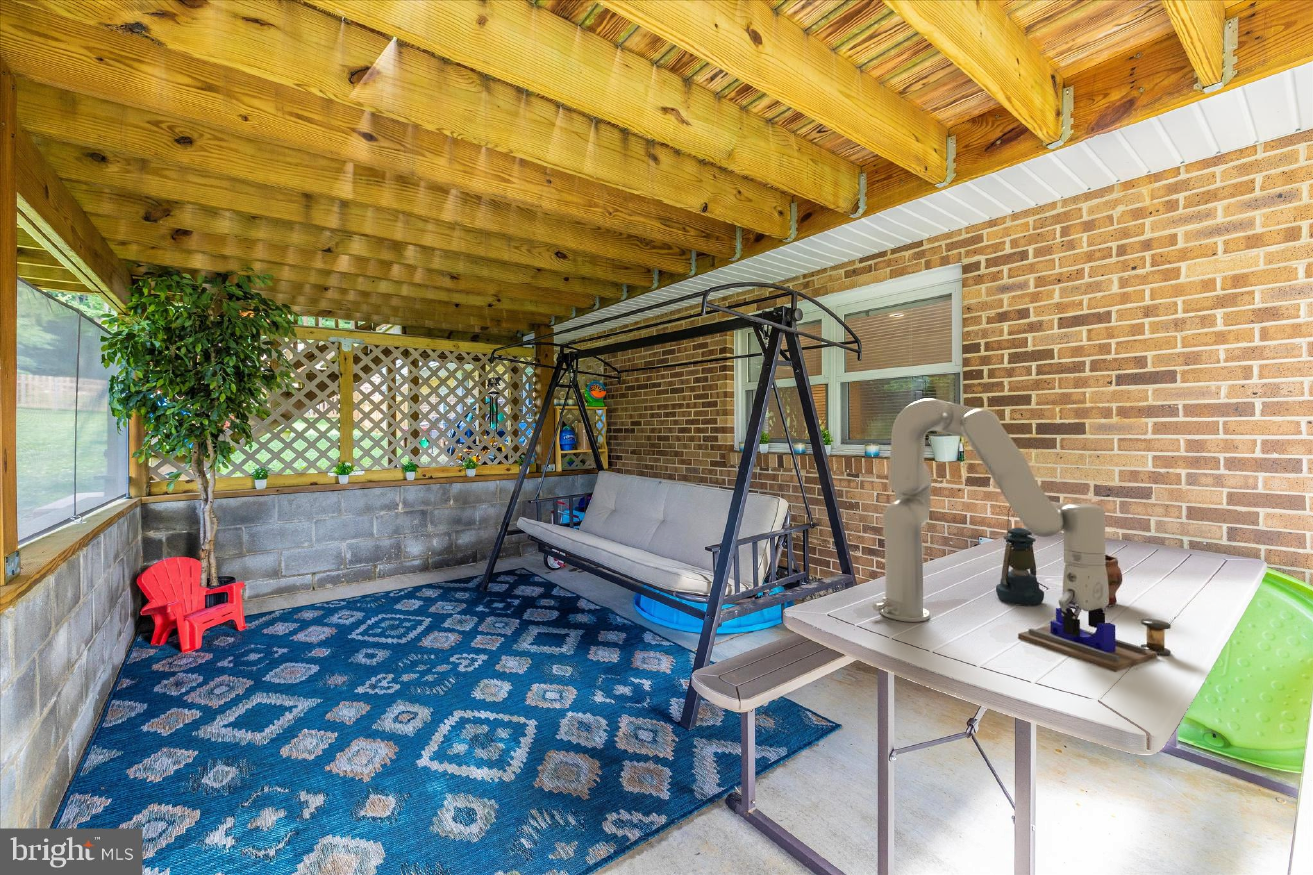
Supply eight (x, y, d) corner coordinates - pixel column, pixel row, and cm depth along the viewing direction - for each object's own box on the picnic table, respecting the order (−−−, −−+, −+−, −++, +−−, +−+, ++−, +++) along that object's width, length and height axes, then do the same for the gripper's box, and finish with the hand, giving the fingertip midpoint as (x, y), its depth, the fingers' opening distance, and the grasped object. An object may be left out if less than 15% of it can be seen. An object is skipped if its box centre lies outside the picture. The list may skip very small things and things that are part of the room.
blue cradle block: (1050, 633, 131) (1050, 608, 131) (1066, 631, 131) (1066, 607, 131) (1098, 653, 119) (1097, 626, 119) (1115, 651, 120) (1115, 624, 120)
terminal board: (1115, 671, 113) (1115, 661, 112) (1018, 638, 131) (1018, 629, 131) (1156, 657, 119) (1156, 647, 119) (1058, 627, 137) (1058, 619, 137)
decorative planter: (1115, 617, 144) (1115, 565, 144) (1059, 606, 153) (1059, 557, 153) (1127, 600, 157) (1127, 553, 157) (1075, 591, 166) (1075, 546, 166)
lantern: (1024, 610, 151) (1024, 485, 150) (984, 598, 162) (983, 481, 161) (1056, 602, 156) (1055, 482, 156) (1015, 591, 167) (1014, 479, 167)
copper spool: (1163, 657, 119) (1163, 627, 119) (1135, 649, 124) (1135, 620, 124) (1175, 653, 121) (1175, 624, 121) (1147, 645, 126) (1147, 617, 126)
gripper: (1079, 565, 118) (1080, 643, 118) (1124, 557, 125) (1124, 630, 125) (1043, 558, 125) (1043, 631, 125) (1087, 550, 131) (1088, 620, 132)
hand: (1084, 631), depth 125 cm, fingers open, 9 cm apart
